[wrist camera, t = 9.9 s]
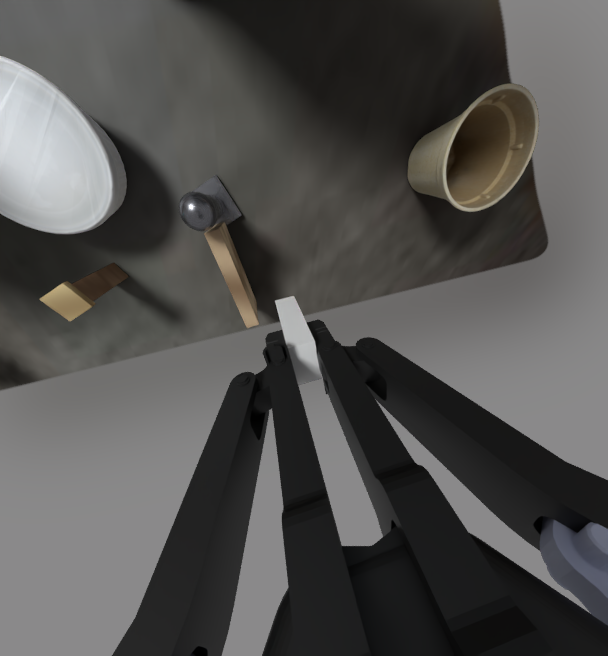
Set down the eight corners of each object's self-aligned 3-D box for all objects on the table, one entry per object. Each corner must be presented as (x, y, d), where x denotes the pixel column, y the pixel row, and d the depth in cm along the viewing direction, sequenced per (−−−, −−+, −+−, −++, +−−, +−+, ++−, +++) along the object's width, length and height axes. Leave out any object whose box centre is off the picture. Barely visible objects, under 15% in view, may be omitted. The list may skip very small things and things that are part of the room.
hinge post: (183, 198, 25) (147, 200, 16) (216, 175, 25) (198, 164, 16) (211, 235, 27) (192, 255, 18) (242, 214, 27) (238, 224, 18)
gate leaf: (213, 225, 26) (204, 233, 21) (225, 221, 26) (219, 228, 21) (247, 304, 32) (247, 328, 26) (257, 301, 32) (259, 324, 26)
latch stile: (96, 270, 27) (39, 299, 20) (113, 258, 27) (62, 283, 19) (116, 288, 28) (70, 321, 21) (133, 277, 28) (92, 306, 21)
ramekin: (-32, 55, 18) (-125, 9, 14) (135, 113, 21) (105, 92, 17) (11, 210, 23) (-47, 215, 18) (141, 238, 26) (119, 247, 22)
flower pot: (441, 214, 32) (498, 220, 25) (382, 198, 29) (426, 199, 22) (478, 129, 28) (560, 106, 20) (413, 101, 25) (481, 63, 18)
